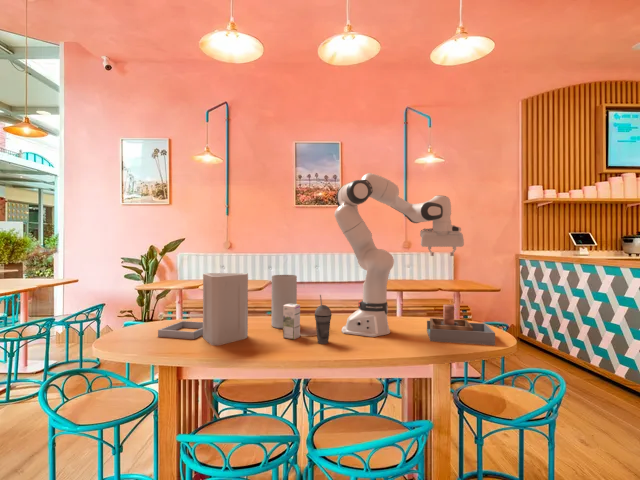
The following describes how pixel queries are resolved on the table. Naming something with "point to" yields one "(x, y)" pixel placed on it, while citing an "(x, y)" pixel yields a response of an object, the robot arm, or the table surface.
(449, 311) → the reddish brown block
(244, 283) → the paper bag
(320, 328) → the beverage cup
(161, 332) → the gray square frame
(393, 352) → the table surface
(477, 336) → the tray
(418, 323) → the table surface
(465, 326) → the crate
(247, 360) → the table surface
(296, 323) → the syrup box
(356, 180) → the robot arm
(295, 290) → the cylinder vase
